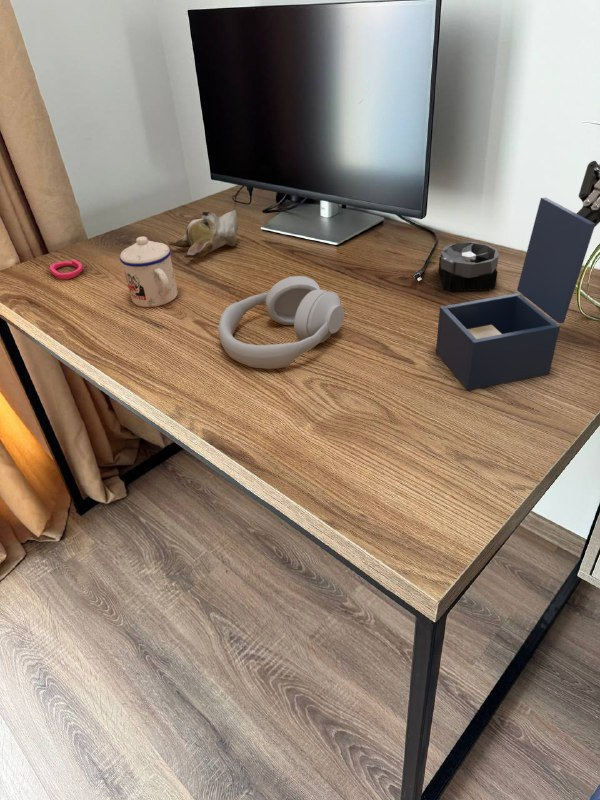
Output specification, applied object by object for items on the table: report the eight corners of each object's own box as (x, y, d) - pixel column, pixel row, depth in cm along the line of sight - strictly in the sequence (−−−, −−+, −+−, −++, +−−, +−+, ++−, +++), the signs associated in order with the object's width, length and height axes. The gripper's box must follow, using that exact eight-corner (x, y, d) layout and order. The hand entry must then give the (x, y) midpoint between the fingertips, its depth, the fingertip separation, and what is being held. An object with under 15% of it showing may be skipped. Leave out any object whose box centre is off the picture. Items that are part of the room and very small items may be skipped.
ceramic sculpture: (245, 208, 121) (178, 230, 116) (252, 248, 127) (188, 270, 121) (223, 196, 129) (160, 216, 124) (231, 234, 134) (170, 254, 129)
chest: (467, 390, 81) (473, 342, 77) (435, 352, 90) (439, 306, 85) (549, 374, 83) (560, 326, 79) (510, 337, 92) (518, 292, 87)
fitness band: (89, 273, 122) (87, 266, 121) (62, 282, 119) (60, 275, 118) (72, 262, 127) (70, 256, 126) (46, 271, 124) (44, 264, 123)
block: (487, 350, 88) (491, 324, 85) (502, 365, 84) (507, 339, 82) (460, 355, 87) (463, 329, 85) (474, 371, 84) (478, 344, 81)
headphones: (303, 296, 106) (207, 346, 99) (295, 257, 101) (193, 307, 94) (367, 337, 93) (261, 396, 87) (361, 294, 88) (249, 355, 82)
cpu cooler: (493, 239, 109) (504, 262, 100) (489, 268, 112) (500, 292, 104) (436, 241, 109) (443, 264, 101) (434, 270, 113) (441, 294, 105)
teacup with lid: (123, 296, 112) (107, 237, 105) (166, 282, 116) (154, 224, 109) (149, 319, 104) (134, 257, 97) (194, 303, 108) (183, 242, 101)
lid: (589, 224, 70) (595, 223, 71) (540, 197, 79) (546, 197, 79) (558, 323, 78) (564, 323, 78) (516, 290, 87) (521, 289, 87)
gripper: (735, 158, 68) (615, 271, 74) (654, 133, 79) (554, 235, 84) (712, 113, 64) (587, 237, 70) (630, 94, 75) (527, 203, 80)
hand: (569, 236), depth 77 cm, fingers closed
